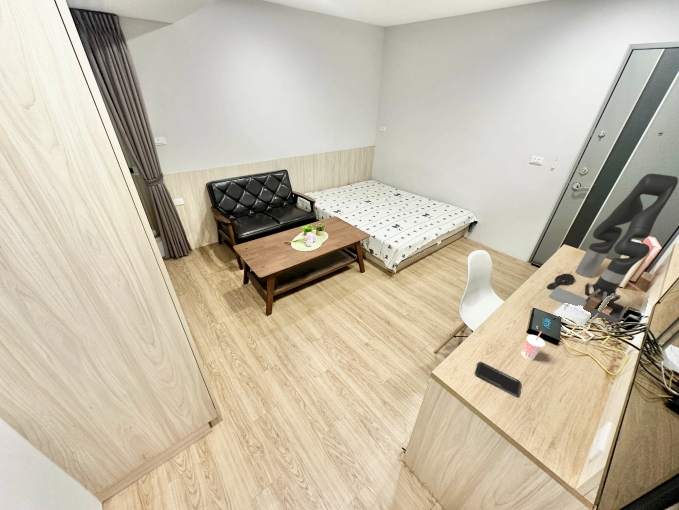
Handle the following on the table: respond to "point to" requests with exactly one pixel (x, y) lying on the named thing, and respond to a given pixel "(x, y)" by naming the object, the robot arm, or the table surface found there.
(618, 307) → the tray
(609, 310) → the tile
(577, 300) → the board
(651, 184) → the robot arm
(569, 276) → the hairbrush
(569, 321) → the phone case
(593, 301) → the brown wooden block
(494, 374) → the phone
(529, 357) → the beverage cup
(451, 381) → the table surface
